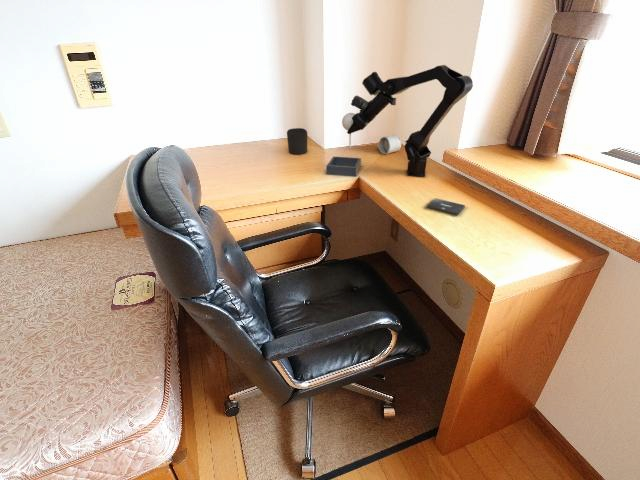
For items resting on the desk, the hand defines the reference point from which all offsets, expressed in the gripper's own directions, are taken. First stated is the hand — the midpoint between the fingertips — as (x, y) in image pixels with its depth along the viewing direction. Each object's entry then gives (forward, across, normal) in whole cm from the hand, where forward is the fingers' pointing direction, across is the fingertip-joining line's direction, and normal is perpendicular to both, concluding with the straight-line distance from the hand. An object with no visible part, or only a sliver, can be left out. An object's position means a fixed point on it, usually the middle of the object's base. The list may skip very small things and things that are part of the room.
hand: (350, 131), depth 147 cm
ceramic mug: (0, -18, +19) cm, 26 cm away
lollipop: (+5, 0, +6) cm, 8 cm away
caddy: (+8, +12, +10) cm, 17 cm away
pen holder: (+28, -5, -10) cm, 30 cm away
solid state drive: (-21, +35, +40) cm, 57 cm away
